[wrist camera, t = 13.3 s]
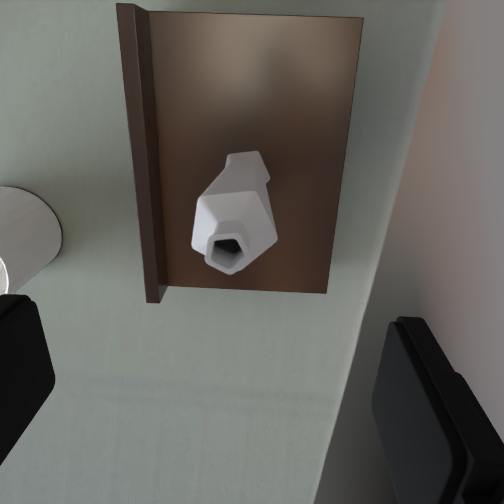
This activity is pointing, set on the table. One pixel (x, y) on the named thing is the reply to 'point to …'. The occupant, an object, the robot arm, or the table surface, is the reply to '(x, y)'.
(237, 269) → the perfume bottle
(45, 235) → the mug
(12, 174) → the table surface
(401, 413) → the robot arm
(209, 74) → the wooden display stand
